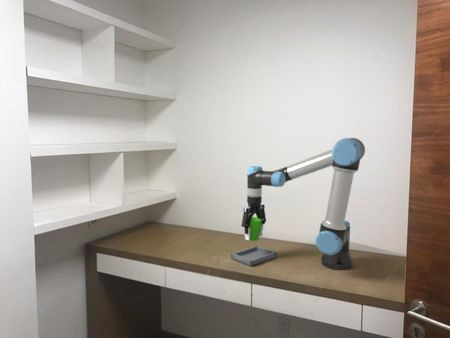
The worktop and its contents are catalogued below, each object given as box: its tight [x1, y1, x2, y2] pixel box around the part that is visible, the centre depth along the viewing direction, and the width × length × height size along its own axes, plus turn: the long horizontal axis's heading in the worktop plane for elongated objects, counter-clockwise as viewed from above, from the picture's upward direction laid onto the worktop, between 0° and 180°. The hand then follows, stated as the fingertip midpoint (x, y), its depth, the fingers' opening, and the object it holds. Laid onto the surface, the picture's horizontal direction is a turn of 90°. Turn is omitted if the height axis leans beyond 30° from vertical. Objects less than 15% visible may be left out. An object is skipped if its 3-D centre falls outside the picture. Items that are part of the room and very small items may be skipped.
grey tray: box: [230, 245, 277, 268], centre depth 190 cm, size 14×19×3 cm
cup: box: [249, 216, 264, 242], centre depth 189 cm, size 9×9×11 cm
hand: (253, 237), depth 189 cm, fingers closed on cup, 9 cm apart
